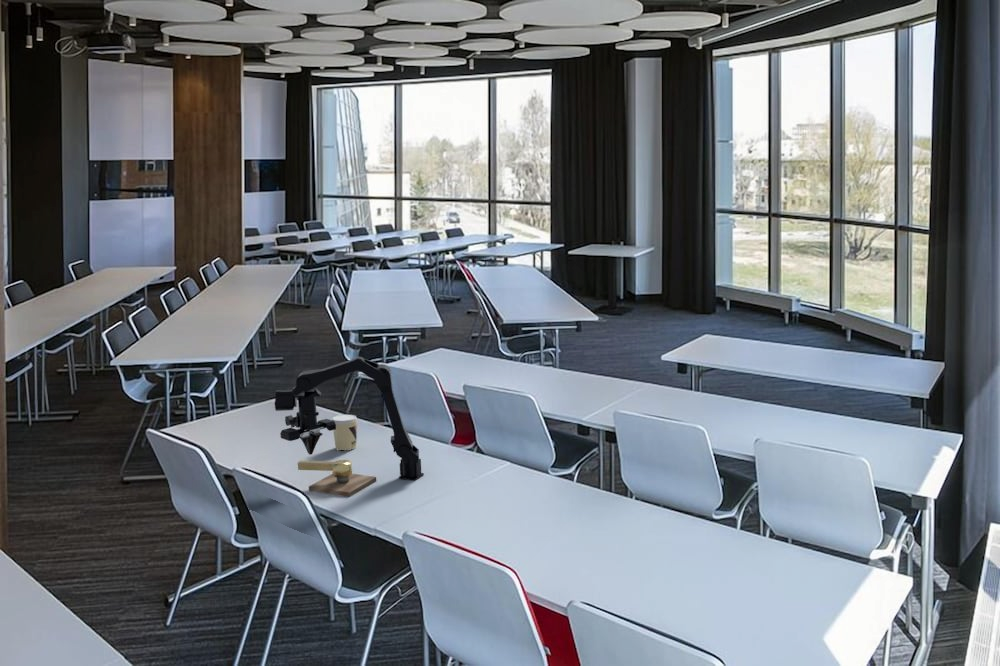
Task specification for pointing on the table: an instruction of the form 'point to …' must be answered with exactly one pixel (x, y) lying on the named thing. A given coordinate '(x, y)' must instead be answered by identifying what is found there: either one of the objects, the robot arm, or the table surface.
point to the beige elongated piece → (328, 467)
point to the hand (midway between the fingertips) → (310, 454)
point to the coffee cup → (345, 432)
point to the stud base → (342, 484)
